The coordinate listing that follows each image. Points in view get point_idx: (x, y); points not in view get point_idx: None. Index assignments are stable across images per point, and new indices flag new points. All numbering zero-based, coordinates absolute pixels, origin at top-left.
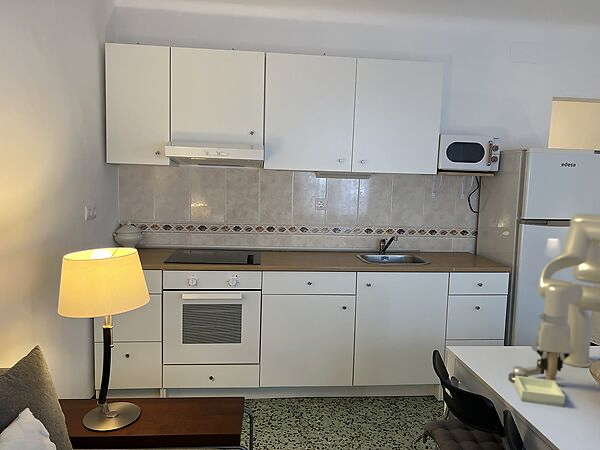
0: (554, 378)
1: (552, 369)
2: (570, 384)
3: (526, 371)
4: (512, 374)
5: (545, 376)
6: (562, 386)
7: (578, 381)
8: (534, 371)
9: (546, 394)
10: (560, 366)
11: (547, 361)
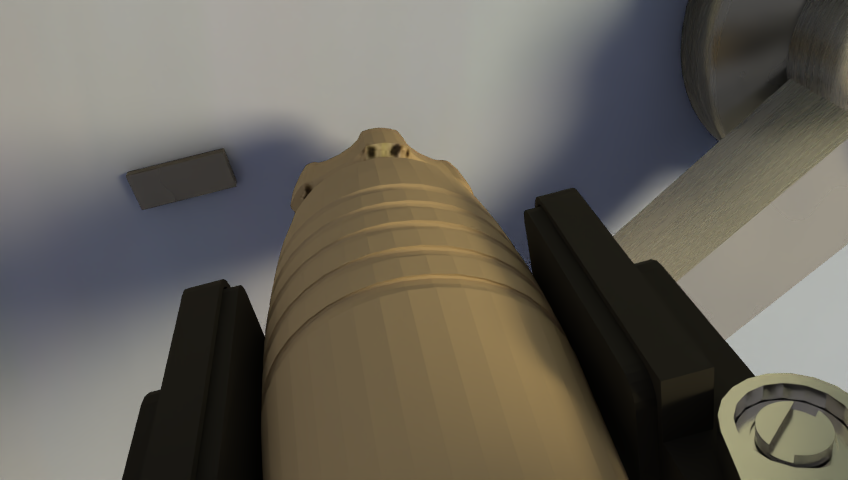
0: (309, 176)
1: (382, 232)
2: (80, 319)
3: None
4: None
5: (469, 190)
6: (173, 163)
7: (8, 471)
8: (655, 258)
9: None
10: (181, 368)
11: (574, 373)
